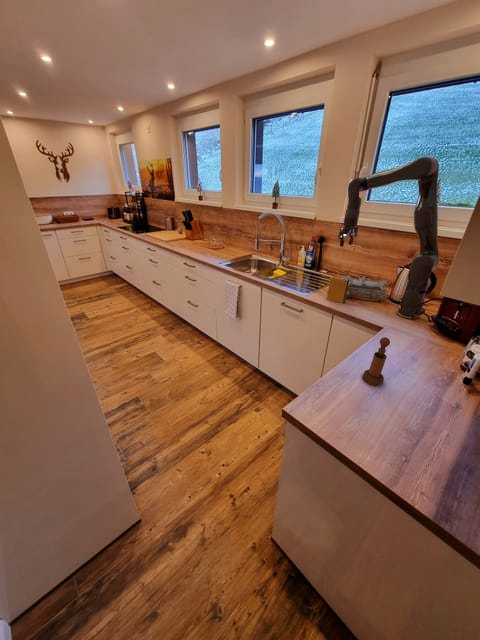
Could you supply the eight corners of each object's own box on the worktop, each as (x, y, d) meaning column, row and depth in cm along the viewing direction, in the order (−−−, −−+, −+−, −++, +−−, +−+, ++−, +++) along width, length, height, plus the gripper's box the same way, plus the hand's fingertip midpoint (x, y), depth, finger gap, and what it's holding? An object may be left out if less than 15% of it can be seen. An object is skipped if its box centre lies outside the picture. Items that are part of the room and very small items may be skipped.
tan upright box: (344, 301, 156) (349, 279, 149) (343, 303, 153) (348, 280, 147) (327, 297, 160) (331, 275, 154) (326, 299, 158) (330, 277, 151)
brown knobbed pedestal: (365, 385, 93) (378, 342, 84) (360, 373, 99) (372, 332, 90) (384, 387, 92) (400, 344, 83) (379, 375, 98) (393, 334, 89)
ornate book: (337, 299, 160) (392, 304, 152) (340, 284, 156) (396, 289, 148) (337, 286, 179) (385, 290, 171) (339, 273, 175) (389, 276, 166)
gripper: (349, 218, 144) (343, 248, 152) (364, 216, 151) (358, 245, 159) (338, 216, 150) (333, 245, 158) (353, 215, 157) (347, 243, 165)
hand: (345, 245), depth 158 cm, fingers open, 8 cm apart
